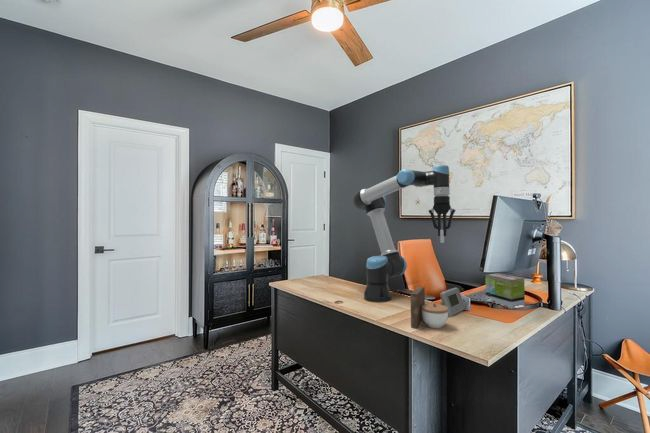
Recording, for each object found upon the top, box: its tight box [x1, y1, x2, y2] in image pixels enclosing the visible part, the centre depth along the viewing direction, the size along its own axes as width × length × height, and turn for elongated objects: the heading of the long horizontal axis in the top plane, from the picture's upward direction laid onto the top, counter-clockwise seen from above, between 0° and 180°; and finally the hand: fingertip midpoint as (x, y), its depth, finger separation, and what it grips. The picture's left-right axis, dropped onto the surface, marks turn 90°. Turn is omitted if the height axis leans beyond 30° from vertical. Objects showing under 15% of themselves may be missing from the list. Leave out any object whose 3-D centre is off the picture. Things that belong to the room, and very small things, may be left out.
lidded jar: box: [421, 302, 449, 329], centre depth 130 cm, size 11×11×9 cm
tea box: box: [484, 272, 526, 310], centre depth 159 cm, size 15×10×15 cm, turn 23°
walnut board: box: [410, 286, 426, 329], centre depth 134 cm, size 2×15×14 cm, turn 150°
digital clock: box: [439, 287, 466, 317], centre depth 148 cm, size 16×9×11 cm, turn 121°
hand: (442, 242), depth 157 cm, fingers closed
